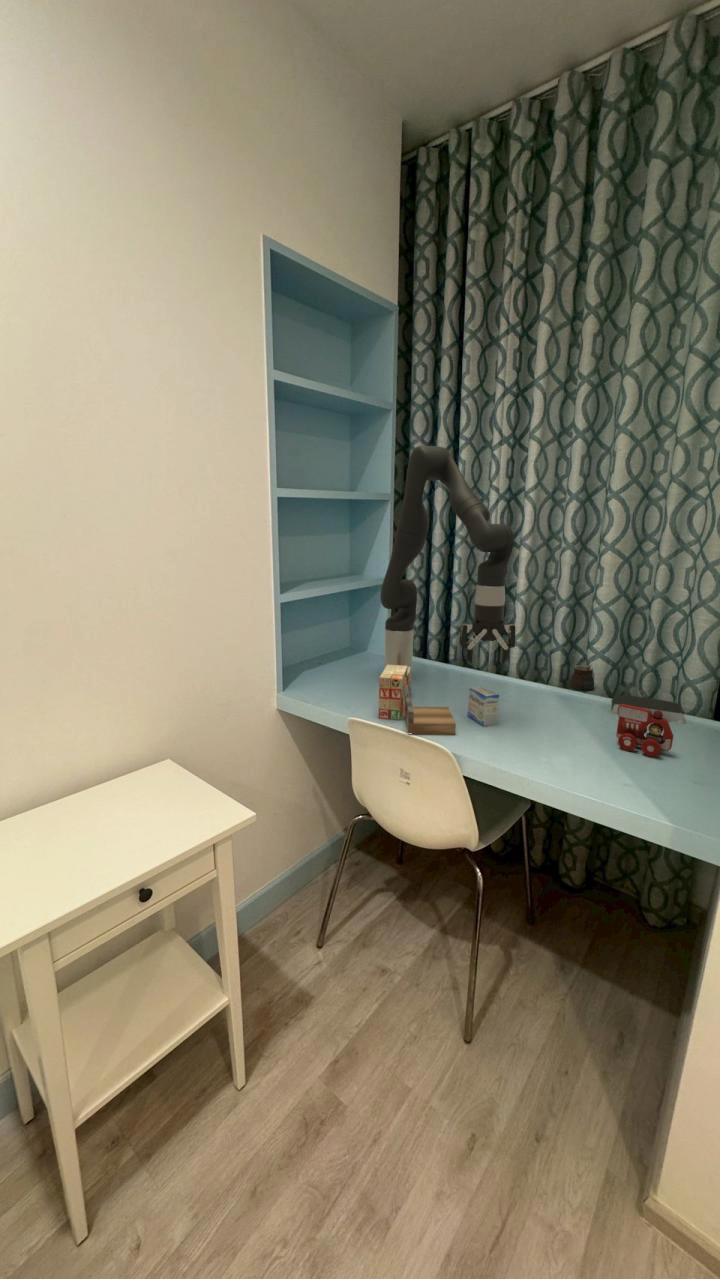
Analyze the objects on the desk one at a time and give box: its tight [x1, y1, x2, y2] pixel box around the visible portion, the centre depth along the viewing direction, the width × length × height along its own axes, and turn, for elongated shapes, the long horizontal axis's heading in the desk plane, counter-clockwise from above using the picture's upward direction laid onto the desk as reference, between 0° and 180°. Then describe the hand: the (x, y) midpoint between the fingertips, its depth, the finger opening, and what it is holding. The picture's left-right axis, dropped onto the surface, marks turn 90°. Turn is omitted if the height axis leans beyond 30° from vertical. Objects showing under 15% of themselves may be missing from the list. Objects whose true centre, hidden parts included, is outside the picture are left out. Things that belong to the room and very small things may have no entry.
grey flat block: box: [610, 694, 686, 725], centre depth 152 cm, size 12×18×4 cm
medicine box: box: [466, 685, 500, 727], centre depth 146 cm, size 8×4×9 cm, turn 23°
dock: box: [404, 696, 457, 736], centre depth 142 cm, size 12×12×6 cm
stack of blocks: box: [378, 665, 412, 721], centre depth 155 cm, size 21×6×12 cm, turn 167°
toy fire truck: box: [615, 704, 674, 758], centre depth 129 cm, size 7×12×10 cm, turn 53°
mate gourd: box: [569, 664, 595, 692], centre depth 170 cm, size 7×8×10 cm
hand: (485, 662), depth 143 cm, fingers open, 8 cm apart
